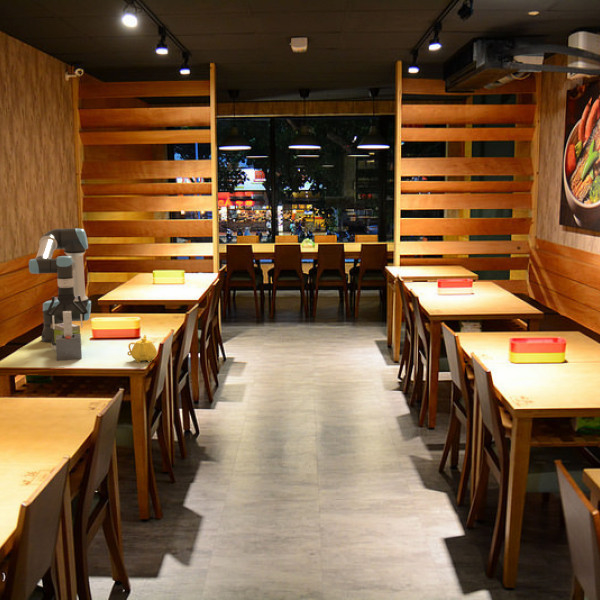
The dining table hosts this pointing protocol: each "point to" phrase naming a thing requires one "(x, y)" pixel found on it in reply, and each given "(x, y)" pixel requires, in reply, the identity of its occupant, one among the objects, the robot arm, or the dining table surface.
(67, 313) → the column
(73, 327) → the tea box
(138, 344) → the teapot
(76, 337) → the stand base
